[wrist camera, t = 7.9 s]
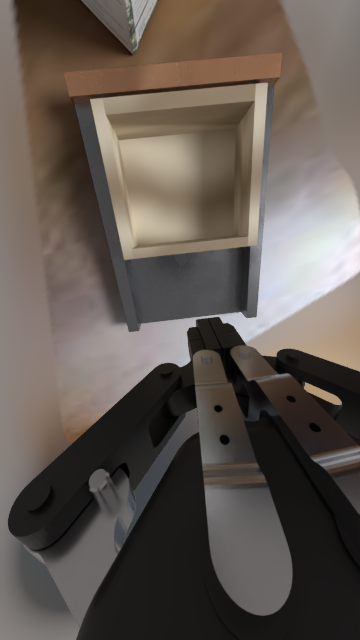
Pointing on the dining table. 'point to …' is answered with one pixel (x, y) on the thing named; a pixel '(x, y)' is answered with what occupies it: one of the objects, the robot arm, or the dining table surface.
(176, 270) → the bay
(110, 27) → the syrup box
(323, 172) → the dining table surface
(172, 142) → the box
